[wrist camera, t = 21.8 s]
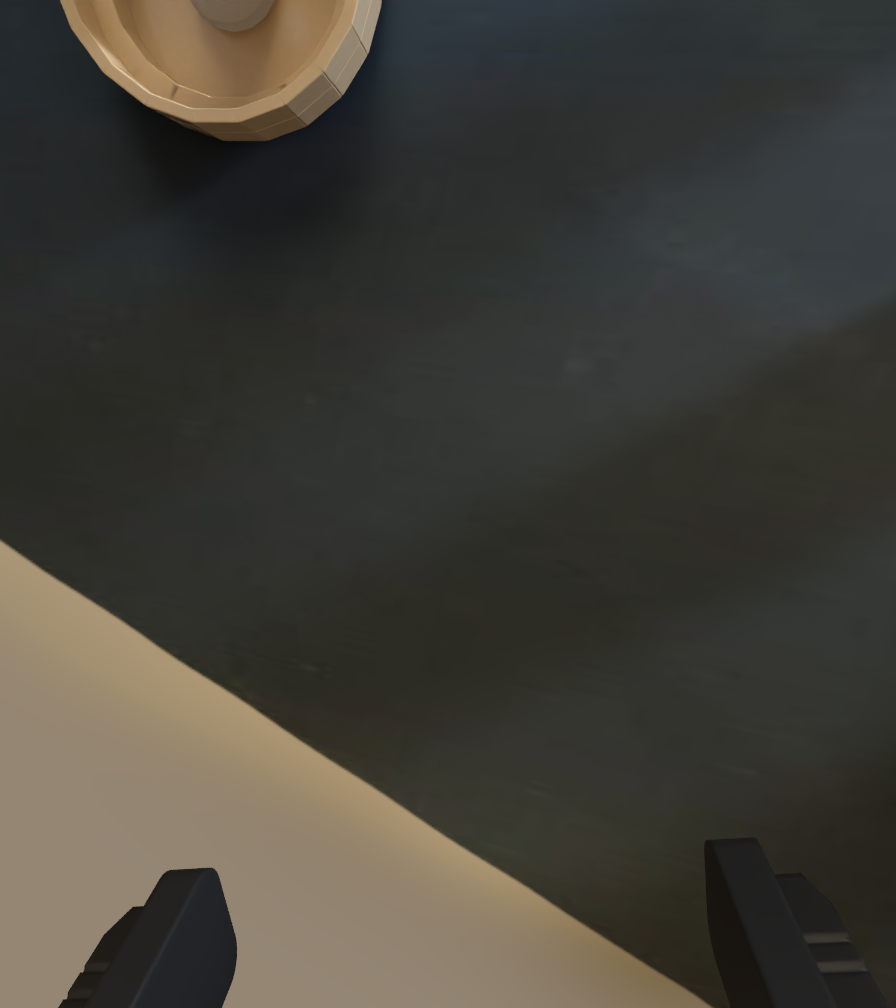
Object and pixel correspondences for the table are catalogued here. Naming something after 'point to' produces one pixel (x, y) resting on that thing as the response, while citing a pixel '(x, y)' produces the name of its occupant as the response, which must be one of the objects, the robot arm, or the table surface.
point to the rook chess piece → (233, 12)
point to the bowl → (229, 60)
